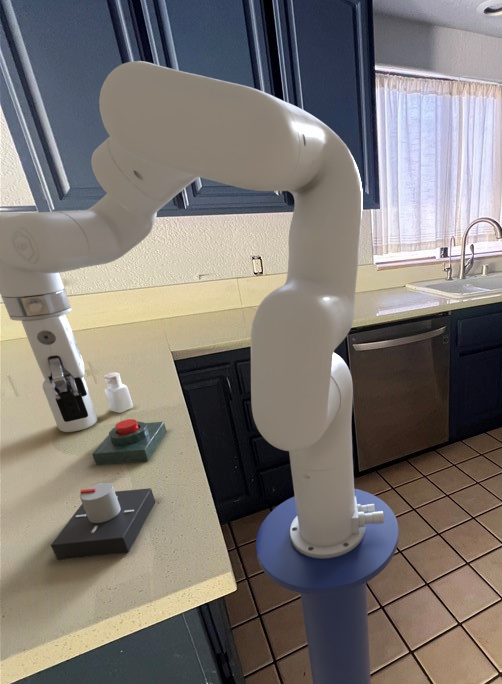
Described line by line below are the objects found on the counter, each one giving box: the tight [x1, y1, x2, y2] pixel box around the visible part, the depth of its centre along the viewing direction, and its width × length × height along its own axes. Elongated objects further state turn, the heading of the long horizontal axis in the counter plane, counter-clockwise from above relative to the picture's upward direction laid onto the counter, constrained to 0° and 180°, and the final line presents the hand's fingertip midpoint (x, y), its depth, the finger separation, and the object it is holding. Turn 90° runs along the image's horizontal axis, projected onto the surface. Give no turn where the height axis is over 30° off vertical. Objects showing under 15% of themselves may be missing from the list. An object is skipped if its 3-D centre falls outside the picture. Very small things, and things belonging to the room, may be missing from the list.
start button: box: [114, 418, 139, 435], centre depth 90 cm, size 4×4×2 cm
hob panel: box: [50, 487, 156, 561], centre depth 69 cm, size 10×12×3 cm
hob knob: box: [79, 482, 121, 523], centre depth 67 cm, size 4×4×5 cm
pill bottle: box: [42, 376, 98, 433], centre depth 98 cm, size 8×8×15 cm
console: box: [91, 420, 167, 466], centre depth 91 cm, size 10×12×4 cm
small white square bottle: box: [103, 372, 134, 414], centre depth 106 cm, size 4×4×10 cm
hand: (76, 407), depth 71 cm, fingers open, 9 cm apart
